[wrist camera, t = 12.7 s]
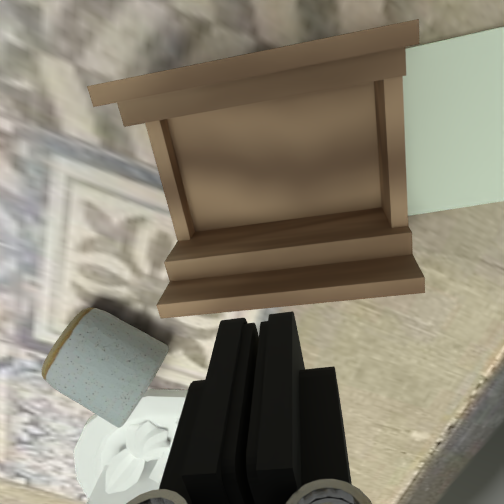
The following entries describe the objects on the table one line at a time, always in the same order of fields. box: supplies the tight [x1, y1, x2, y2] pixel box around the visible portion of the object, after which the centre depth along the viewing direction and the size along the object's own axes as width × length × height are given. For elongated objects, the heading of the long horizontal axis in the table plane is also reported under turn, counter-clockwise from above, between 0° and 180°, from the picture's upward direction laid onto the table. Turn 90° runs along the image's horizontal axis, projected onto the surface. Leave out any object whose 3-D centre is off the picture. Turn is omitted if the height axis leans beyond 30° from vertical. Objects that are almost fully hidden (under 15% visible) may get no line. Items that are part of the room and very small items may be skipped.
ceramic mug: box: [42, 307, 169, 428], centre depth 37 cm, size 11×8×8 cm
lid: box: [403, 26, 504, 216], centre depth 28 cm, size 11×12×2 cm
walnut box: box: [87, 19, 425, 318], centre depth 27 cm, size 14×16×9 cm
